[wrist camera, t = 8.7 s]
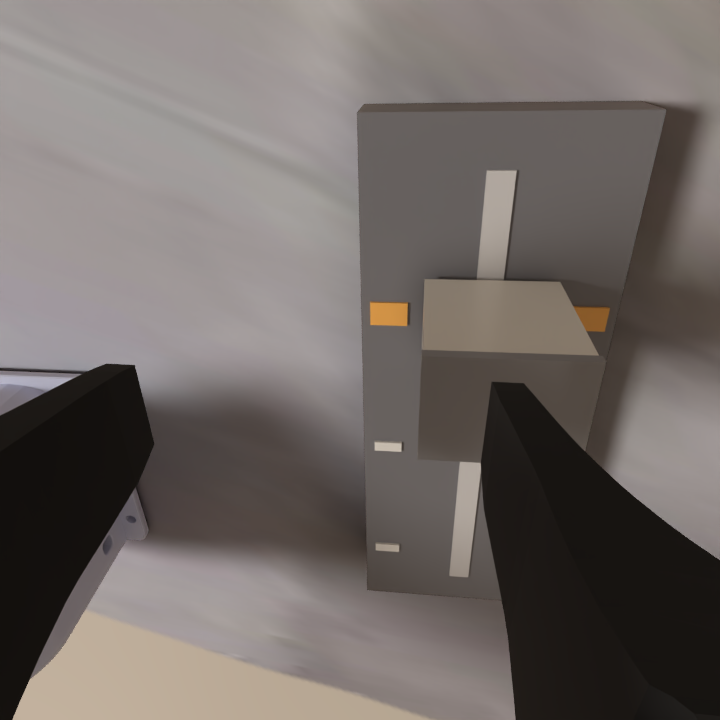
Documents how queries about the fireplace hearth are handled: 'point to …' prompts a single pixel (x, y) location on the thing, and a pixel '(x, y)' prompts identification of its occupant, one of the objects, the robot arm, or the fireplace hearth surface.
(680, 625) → the robot arm
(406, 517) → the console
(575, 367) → the fader
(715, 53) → the fireplace hearth surface
